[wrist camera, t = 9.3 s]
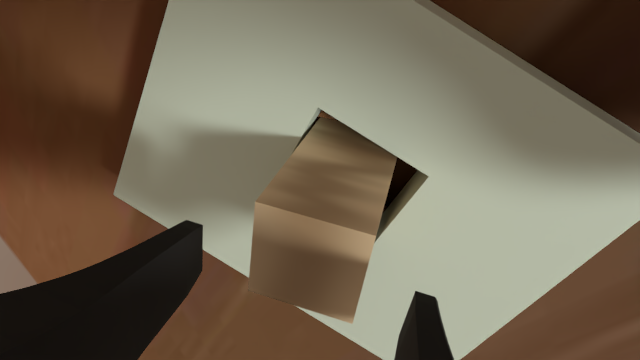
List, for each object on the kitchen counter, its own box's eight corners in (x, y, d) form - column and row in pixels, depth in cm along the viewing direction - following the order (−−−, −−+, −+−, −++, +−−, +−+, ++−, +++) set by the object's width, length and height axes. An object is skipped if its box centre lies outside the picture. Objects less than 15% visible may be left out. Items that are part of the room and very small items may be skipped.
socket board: (664, 149, 17) (693, 178, 15) (428, 349, 26) (426, 385, 24) (237, -122, 17) (206, -131, 15) (141, 173, 25) (113, 194, 23)
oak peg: (402, 137, 20) (375, 235, 13) (384, 207, 22) (352, 323, 15) (320, 116, 21) (255, 201, 14) (309, 187, 23) (248, 290, 16)
